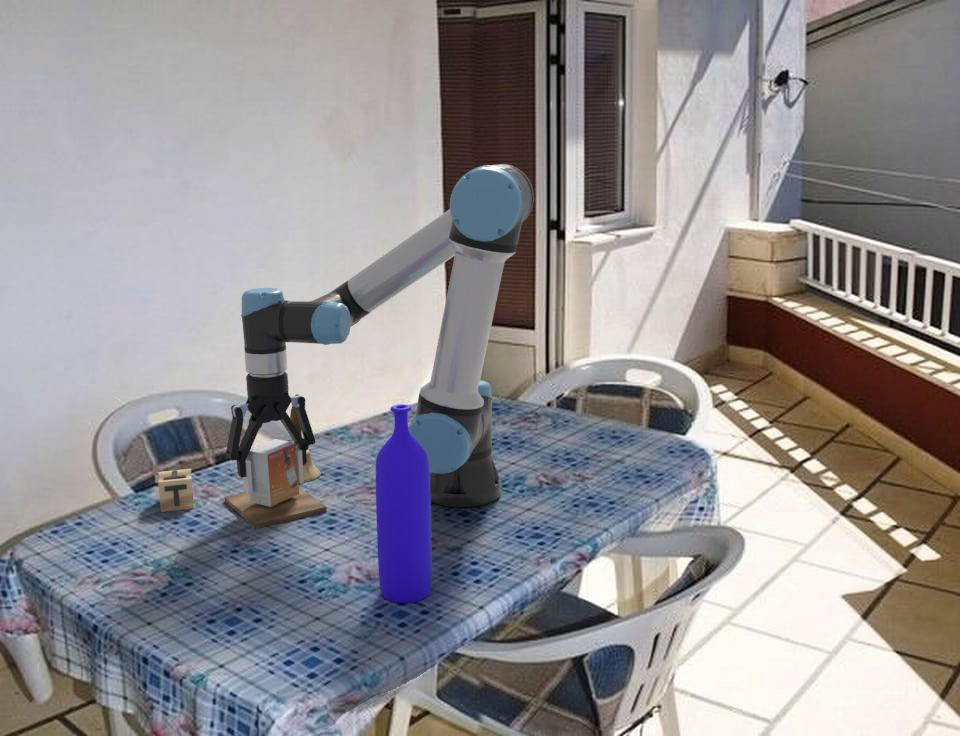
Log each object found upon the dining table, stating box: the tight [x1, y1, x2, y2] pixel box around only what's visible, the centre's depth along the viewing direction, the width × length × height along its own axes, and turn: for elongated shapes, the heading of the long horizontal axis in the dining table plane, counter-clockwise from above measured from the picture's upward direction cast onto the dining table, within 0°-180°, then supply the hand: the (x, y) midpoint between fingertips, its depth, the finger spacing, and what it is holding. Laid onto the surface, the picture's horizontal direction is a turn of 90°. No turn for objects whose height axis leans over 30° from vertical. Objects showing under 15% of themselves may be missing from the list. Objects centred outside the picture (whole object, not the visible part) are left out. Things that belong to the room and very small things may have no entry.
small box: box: [247, 438, 300, 507], centre depth 183 cm, size 8×6×10 cm
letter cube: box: [157, 468, 195, 513], centre depth 185 cm, size 6×6×6 cm
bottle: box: [375, 403, 433, 604], centre depth 146 cm, size 8×8×30 cm
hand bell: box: [289, 405, 322, 483], centre depth 199 cm, size 8×8×16 cm
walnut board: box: [224, 486, 328, 529], centre depth 185 cm, size 16×14×1 cm
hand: (274, 486), depth 184 cm, fingers open, 9 cm apart
